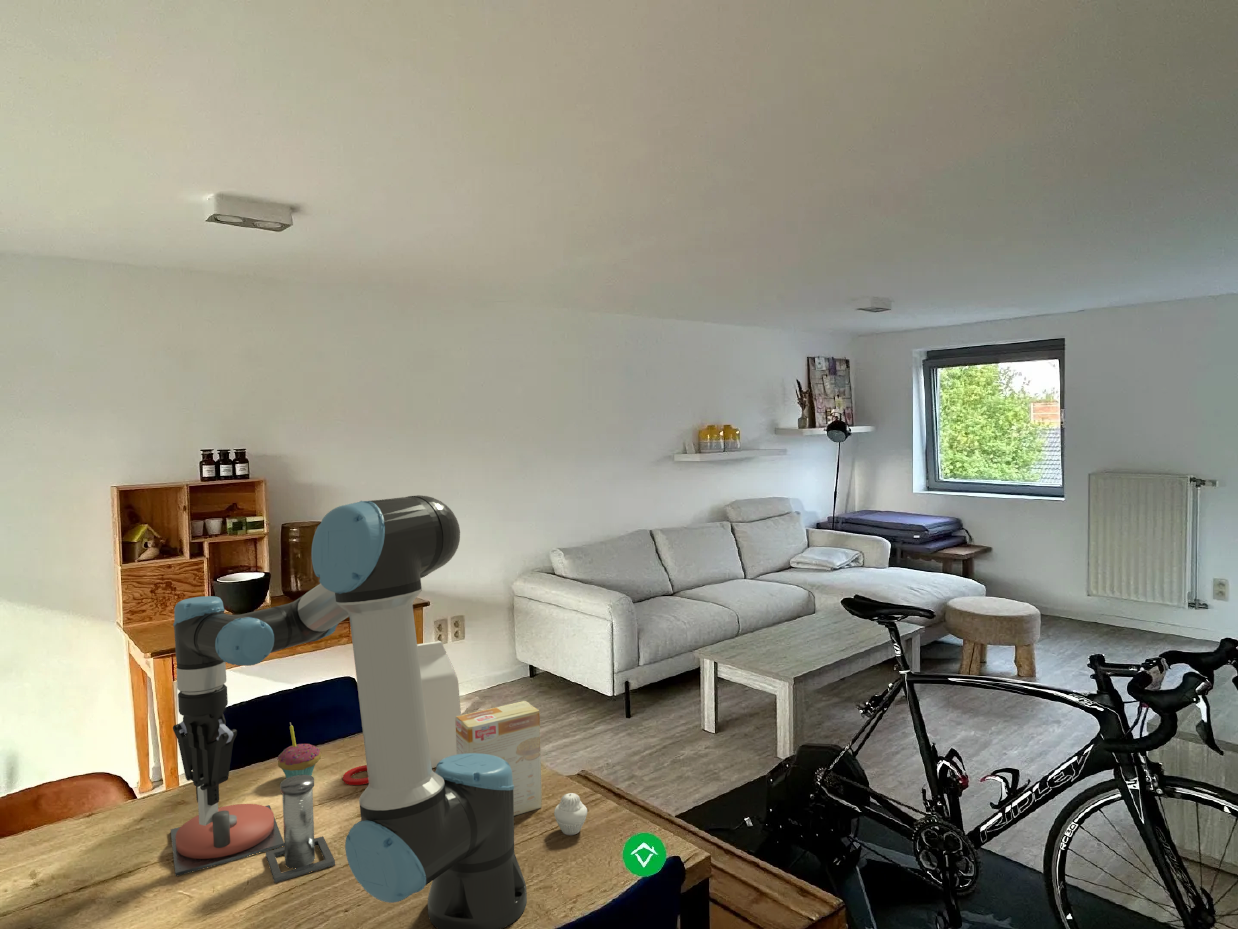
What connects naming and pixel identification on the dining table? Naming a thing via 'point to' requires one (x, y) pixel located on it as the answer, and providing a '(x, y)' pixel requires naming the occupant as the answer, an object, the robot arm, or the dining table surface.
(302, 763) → the cupcake
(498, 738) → the coffeecake box
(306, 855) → the metal peg
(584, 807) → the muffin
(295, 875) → the grey flat square frame
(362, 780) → the tow hook
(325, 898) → the dining table surface
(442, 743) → the milk
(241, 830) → the red disc with handle
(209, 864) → the wheel base
